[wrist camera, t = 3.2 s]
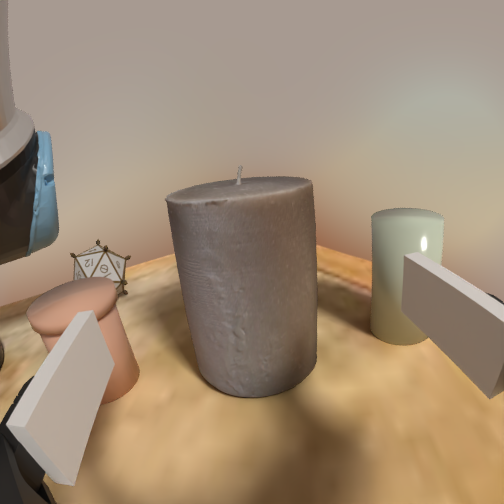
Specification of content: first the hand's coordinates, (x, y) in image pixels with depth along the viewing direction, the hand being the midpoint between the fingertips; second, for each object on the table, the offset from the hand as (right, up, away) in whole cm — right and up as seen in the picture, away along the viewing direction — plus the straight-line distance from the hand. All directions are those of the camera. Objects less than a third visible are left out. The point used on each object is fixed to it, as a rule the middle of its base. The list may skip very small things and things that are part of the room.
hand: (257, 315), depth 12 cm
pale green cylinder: (+13, -4, +14) cm, 19 cm away
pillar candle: (0, -6, +13) cm, 14 cm away
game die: (-19, -4, +27) cm, 33 cm away
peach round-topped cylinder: (-13, -9, +12) cm, 20 cm away
